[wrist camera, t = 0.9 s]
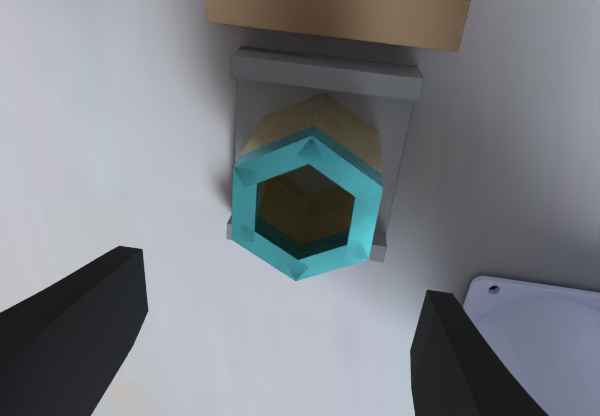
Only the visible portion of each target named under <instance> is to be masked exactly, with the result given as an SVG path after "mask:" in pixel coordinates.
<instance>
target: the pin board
mask: <svg viewBox="0 0 600 416" xmlns="http://www.w3.org/2000/svg"><path fill="white" fill-rule="evenodd" d="M470 2H471V0H206V22H211V23H219V24H227V25H236V26H244V27H253V28H261V29H269V30H278V31H286V32H295V33H303V34H311V35H320V36H328V37H337V38H345V39H353V40H362V41H370V42H379V43H387V44H395V45H404V46H412V47H421V48H429V49H437V50H446V51H454V52H458V50H459V46H460V42H461V38H462V34H463V30H464V26H465V22H466V18H467V14H468V10H469V6H470Z"/></svg>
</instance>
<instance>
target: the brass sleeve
mask: <svg viewBox="0 0 600 416" xmlns="http://www.w3.org/2000/svg"><path fill="white" fill-rule="evenodd" d="M307 164H310V165H311V166H313V167H314V168H315V169H317V170H318V171H320V172H321V173H322V174H324V175H325V176H327V177H328V178H330V179H331V180H332V181H334V182H335V183H337V184H338V185H339V186H337V187H334V188H331V189H328V190H325V191H322V192H320V193H317V194H314V195H311V194H310V193H308V192H307V191H305V190H304V189H302V188H301V187H300V186H298V185H297V184H295V183H294V182H292V181H291V180H290V179H288V178H287V177H285V176H284V175H282V174H283V173H286V172H288V171H291V170H294V169H296V168H299V167H302V166H304V165H307ZM382 191H383V178H382V165H381V151H380V138H379V133H378V132H377V131H376V130H374V129H373V128H372V127H370V126H369V125H368V124H366V123H365V122H364V121H362V120H361V119H360V118H358V117H357V116H356V115H354V114H353V113H352V112H350V111H349V110H348V109H346V108H345V107H344V106H342V105H341V104H340V103H338V102H337V101H336V100H334V99H333V98H332V97H330V96H329V95H328V94H326V93H325V92H323V93H321V94H318V95H316V96H314V97H311V98H309V99H307V100H304V101H302V102H299V103H297V104H295V105H292V106H290V107H287V108H285V109H283V110H280V111H278V112H276V113H273V114H271V115H268V116H266V117H264V118H262V120H261V121H260V123H259V125H258V126H257V128H256V130H255V131H254V133H253V135H252V136H251V138H250V140H249V141H248V143H247V145H246V146H245V148H244V149H243V151H242V153H241V154H240V156H239V158H238V159H237V161H236V163H235V164H234V166H233V189H232V227H231V240H233V241H235V242H236V243H238V244H239V245H241V246H242V247H244V248H245V249H247V250H248V251H250V252H252V253H253V254H255V255H256V256H258V257H259V258H261V259H262V260H264V261H265V262H267V263H269V264H270V265H272V266H273V267H275V268H276V269H278V270H279V271H281V272H283V273H284V274H286V275H287V276H289V277H290V278H292V279H293V280H295V281H298V280H301V279H304V278H308V277H311V276H314V275H318V274H321V273H325V272H328V271H331V270H335V269H338V268H341V267H345V266H348V265H352V264H355V263H358V262H362V261H365V260H369V255H370V250H371V245H372V240H373V235H374V230H375V225H376V220H377V215H378V210H379V205H380V200H381V195H382Z"/></svg>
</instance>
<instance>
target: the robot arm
mask: <svg viewBox="0 0 600 416" xmlns="http://www.w3.org/2000/svg"><path fill="white" fill-rule="evenodd" d="M492 286H497V288H495V289H489V288H490V287H492ZM147 312H148V303H147V293H146V282H145V272H144V261H143V250H142V249H138V248H131V247H124V246H118V247H116V248H114V249H112V250H111V251H109V252H107V253H105V254H104V255H102V256H100V257H99V258H97V259H95V260H94V261H92V262H90V263H89V264H87V265H85V266H84V267H82V268H80V269H79V270H77V271H75V272H73V273H72V274H70V275H68V276H67V277H65V278H63V279H61V280H60V281H58V282H56V283H55V284H53V285H51V286H50V287H48V288H46V289H44V290H42V291H40V292H38V293H37V294H35V295H33V296H31V297H29V298H27V299H25V300H24V301H22V302H20V303H18V304H16V305H14V306H12V307H10V308H9V309H7V310H5V311H3V312H1V313H0V416H91V414H92V413H93V411H94V409H95V408H96V406H97V404H98V403H99V401H100V400H101V398H102V396H103V395H104V393H105V391H106V390H107V388H108V386H109V385H110V383H111V382H112V380H113V378H114V377H115V375H116V373H117V372H118V370H119V368H120V367H121V365H122V363H123V362H124V360H125V358H126V357H127V355H128V353H129V352H130V350H131V348H132V346H133V345H134V342H135V340H136V338H137V336H138V334H139V331H140V329H141V327H142V324H143V322H144V320H145V317H146V315H147ZM410 357H411V389H412V396H413V403H414V409H415V416H600V293H599V292H592V291H585V290H579V289H572V288H565V287H558V286H551V285H544V284H538V283H531V282H524V281H517V280H510V279H504V278H497V277H490V276H478V277H476V278H474V279H473V280H472V282H471V284H470V287H469V290H468V293H467V296H466V299H465V302H464V305H463V308H462V306H461V305H460V303H459V302H458V301H457V299H456V298H455V297H454V295H453V294H452V293H446V292H439V291H432V290H427V292H426V295H425V299H424V303H423V306H422V310H421V314H420V317H419V321H418V325H417V328H416V332H415V335H414V339H413V343H412V346H411V350H410Z"/></svg>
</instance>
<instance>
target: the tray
mask: <svg viewBox="0 0 600 416" xmlns="http://www.w3.org/2000/svg"><path fill="white" fill-rule="evenodd" d="M230 77H231V78H237V110H236V145H235V163H236V161H237V159H238V158H239V156H240V154H241V153H242V151H243V149H244V148H245V146H246V145H247V143H248V141H249V140H250V138H251V136H252V135H253V133H254V131H255V130H256V128H257V126H258V125H259V123H260V121H261V120H262V118H264V117H266V116H268V115H271V114H273V113H276V112H278V111H280V110H283V109H285V108H287V107H290V106H292V105H295V104H297V103H299V102H302V101H304V100H307V99H309V98H311V97H314V96H316V95H318V94H321V93H323V92H325V93H326V94H328V95H329V96H330V97H332V98H333V99H334V100H336V101H337V102H338V103H340V104H341V105H342V106H344V107H345V108H346V109H348V110H349V111H350V112H352V113H353V114H354V115H356V116H357V117H358V118H360V119H361V120H362V121H364V122H365V123H366V124H368V125H369V126H370V127H372V128H373V129H374V130H376V131H377V132H378V133H379V138H380V151H381V165H382V178H383V191H382V195H381V200H380V205H379V210H378V215H377V220H376V225H375V230H374V235H373V240H372V245H371V250H370V255H369V260H373V261H380V262H383V261H384V257H385V252H386V248H387V244H386V228H387V224H388V219H389V214H390V210H391V205H392V200H393V196H394V191H395V187H396V182H397V177H398V173H399V168H400V163H401V159H402V154H403V149H404V145H405V140H406V136H407V131H408V126H409V122H410V117H411V112H412V108H413V103H414V101H419V98H420V94H421V89H422V85H423V80H424V79H423V76H422V74H421V72H420V70H419V68H415V67H407V66H399V65H391V64H382V63H374V62H366V61H358V60H349V59H341V58H333V57H325V56H317V55H308V54H300V53H292V52H284V51H275V50H267V49H259V48H251V47H243V46H242V47H240V48H239V49H238V50H237V51H235V52H234V53H233V54H232V55H231V56H230ZM282 175H284V176H285V177H287V178H288V179H290V180H291V181H292V182H294V183H295V184H297V185H298V186H300V187H301V188H302V189H304V190H305V191H307V192H308V193H310V194H311V195H314V194H317V193H320V192H322V191H325V190H328V189H331V188H334V187H337V186H339V185H338V184H337V183H335V182H334V181H332V180H331V179H330V178H328V177H327V176H325V175H324V174H322V173H321V172H320V171H318V170H317V169H315V168H314V167H313V166H311V165H310V164H307V165H304V166H302V167H299V168H296V169H294V170H291V171H288V172H286V173H283V174H282ZM231 227H232V215H231V217H230V219H229V221H228V223H227V239H230V240H231Z"/></svg>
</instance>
